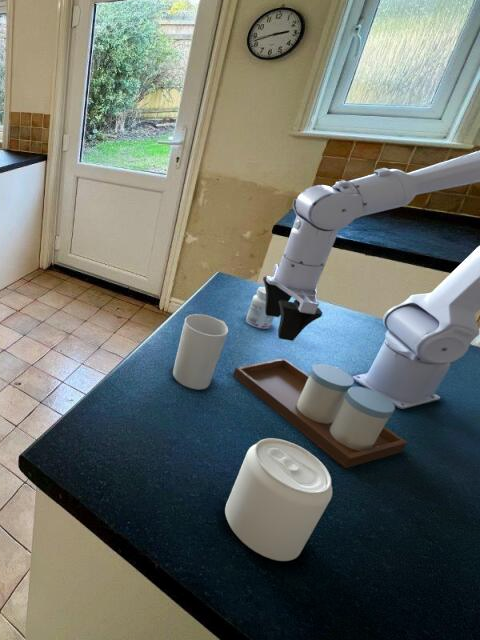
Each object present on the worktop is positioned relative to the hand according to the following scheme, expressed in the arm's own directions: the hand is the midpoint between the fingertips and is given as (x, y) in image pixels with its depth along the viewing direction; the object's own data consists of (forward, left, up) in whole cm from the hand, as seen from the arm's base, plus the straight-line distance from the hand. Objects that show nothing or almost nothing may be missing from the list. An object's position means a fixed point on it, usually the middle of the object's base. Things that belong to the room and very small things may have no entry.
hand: (278, 326), depth 75 cm
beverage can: (+26, +24, -10) cm, 37 cm away
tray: (+1, +10, -10) cm, 14 cm away
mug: (+13, -2, -10) cm, 17 cm away
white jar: (+1, +11, -10) cm, 15 cm away
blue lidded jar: (+1, +16, -10) cm, 19 cm away
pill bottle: (-13, -13, -10) cm, 21 cm away
